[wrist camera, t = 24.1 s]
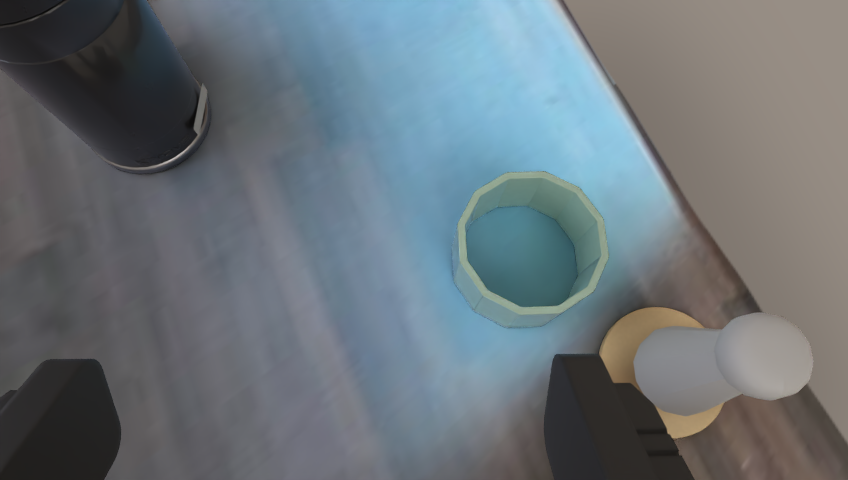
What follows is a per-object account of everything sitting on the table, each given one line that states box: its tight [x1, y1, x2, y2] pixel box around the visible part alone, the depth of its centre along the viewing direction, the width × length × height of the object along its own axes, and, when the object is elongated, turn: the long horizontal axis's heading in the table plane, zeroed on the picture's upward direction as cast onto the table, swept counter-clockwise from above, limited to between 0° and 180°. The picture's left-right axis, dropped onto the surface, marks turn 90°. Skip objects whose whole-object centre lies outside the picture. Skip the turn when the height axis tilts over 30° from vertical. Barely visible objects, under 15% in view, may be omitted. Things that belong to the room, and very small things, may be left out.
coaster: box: [599, 307, 724, 438], centre depth 40 cm, size 9×9×1 cm
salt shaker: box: [633, 313, 814, 417], centre depth 34 cm, size 6×6×13 cm
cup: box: [451, 171, 609, 328], centre depth 40 cm, size 10×10×6 cm
